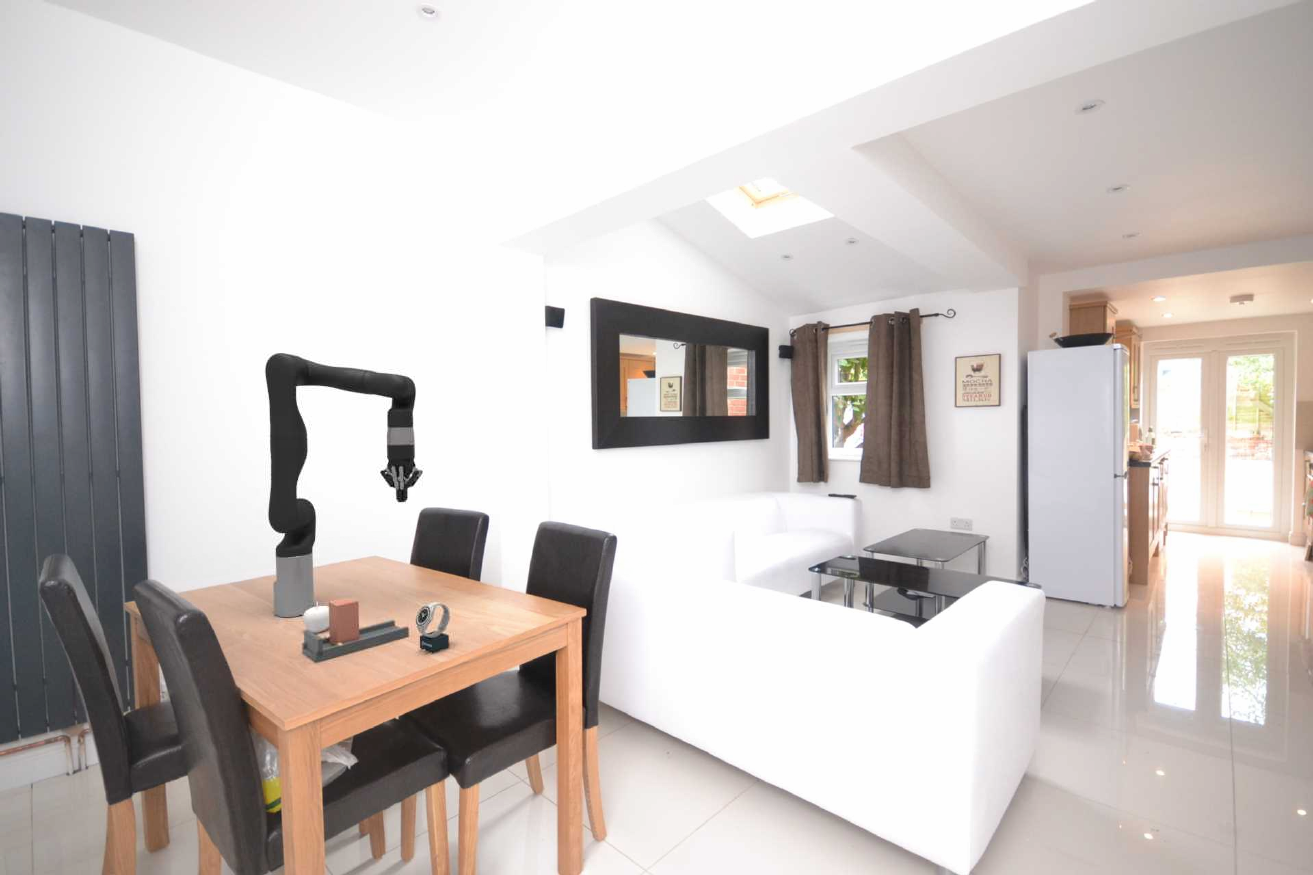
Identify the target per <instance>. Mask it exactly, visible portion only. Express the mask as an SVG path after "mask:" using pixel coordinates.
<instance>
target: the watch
mask: <svg viewBox="0 0 1313 875" xmlns="http://www.w3.org/2000/svg"><path fill="white" fill-rule="evenodd" d="M437 606H441V608H442V609H443V612H442V616H441V618H440V622H439V625H438V626H437V630H433V631H430V632H426V631H427V629H428V626H429V625H430V624H431V623H432V622H433V621H434V617H435V610H436V609H437ZM450 612H451V611H450V609H449V606H447V605H446V604H444V603H440V602H438V601H435V602H434V601H433V602H429V603H428V604H426V605H424V606H422V607H421V608H420V609H419V611H418V612H417V614H416V617H415V624H416V627H417V630H418V632H419V633H420V634H421V635H420V636H419V649H420V648H421V649H420V650H423V649H425V650H426V652H428V653H431V652H432V654H435V653H434V652H436V653H439V652H441V651H440V650H442V649H444V650H446V648H447V649H449V648H450V636H449V634H446V633H444V632H445V631H446V629H447V627H448V625H449V622H450V618H451V614H450ZM448 647H449V648H448ZM425 650H424V651H425ZM438 651H439V652H438ZM442 651H443V650H442Z"/></svg>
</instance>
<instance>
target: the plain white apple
mask: <svg viewBox="0 0 1313 875" xmlns="http://www.w3.org/2000/svg"><path fill="white" fill-rule="evenodd" d="M315 602H316V604H315V605H316V606H314V607H313V608H310V609H308V610H307V611H305V613H304V615H302V623H303V625H304V627H305V628H306V630H309V631H311V632H313V633H314V634H318V633H322V632H324V631H326V630H327V629H328V628H329V606H327V605H319V601H318V600H317V601H315Z"/></svg>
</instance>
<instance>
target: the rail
mask: <svg viewBox="0 0 1313 875" xmlns="http://www.w3.org/2000/svg"><path fill="white" fill-rule="evenodd" d="M395 622H396V620H393V619H391V620H387V621H382V622H379V623H376V624H372V625H369V626H365V627H359V639H357V640H354V641H350V642H346V643H343V644H342V643H337V645H333V644H332V643H330V634H327V635H324V637H321V636H319V635H317V633H313V632H311V631H309V630H307V629H306V630H303V641H304V642H301V653H302V654H303V655H304V656H305V657H307V658H309V659H310V660H312V662H314V663H320V662H323V661H328V660H330V659H334V658H337V657H342V656H345V655H348V654H353V653H356V652H358V651H363V650H366V649H369V648H372V647H373V648H374V647H378V646H380V645H383V644H387V643H390V642H395V641H397V640H401V639H405V638H409V637H410V634H409V633H410V630H409V628H410V627H409V626H408V625H407V626H402V627H399V626H397V625H396V623H395Z"/></svg>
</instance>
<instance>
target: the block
mask: <svg viewBox="0 0 1313 875" xmlns="http://www.w3.org/2000/svg"><path fill="white" fill-rule="evenodd" d="M328 607H329V626H328V628H329V631H328V633H329V636H330V643H332V644H333V645H337V643H342V644H343V643H346V642H350V641H354V640H357V639H359V628H360V614H359V611H360V609H359V608H360V606H359V600H357V599H354V598H353V597H346V598H340V599H337V600H336V599H335V600H331V601H328Z"/></svg>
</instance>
